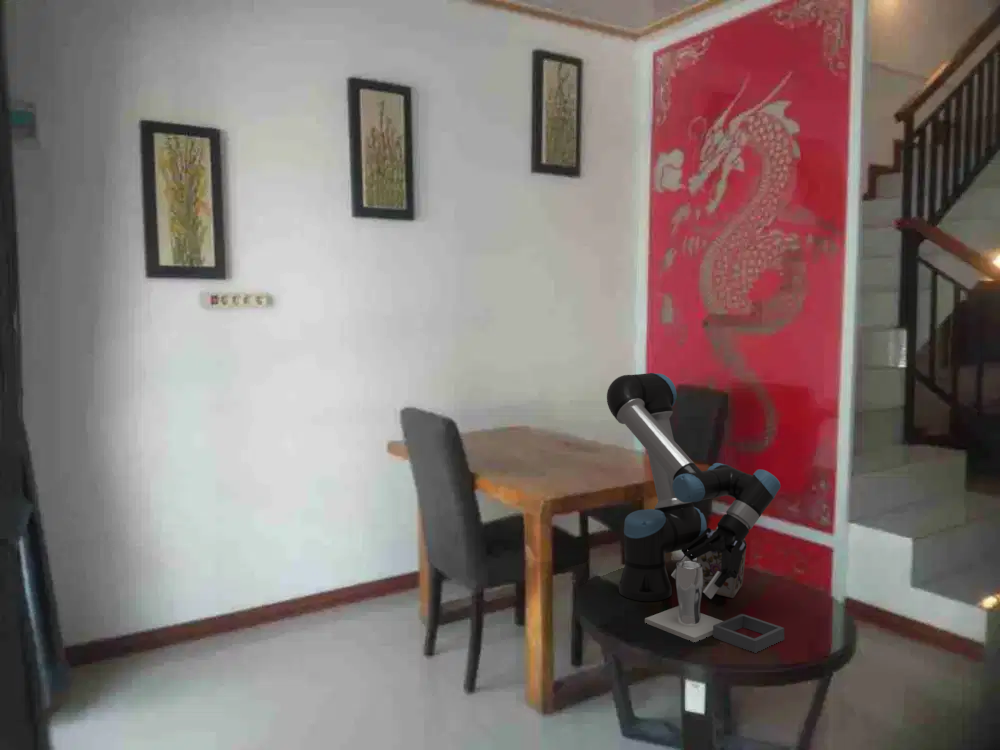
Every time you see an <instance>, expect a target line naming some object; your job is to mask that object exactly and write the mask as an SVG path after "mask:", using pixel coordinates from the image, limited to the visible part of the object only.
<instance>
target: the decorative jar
mask: <svg viewBox="0 0 1000 750" xmlns="http://www.w3.org/2000/svg"><path fill="white" fill-rule="evenodd" d="M710 529H711V530H712V531H713V532H715V531H716V530H717V529H718V526H716V528H715V529H712V528H710ZM703 533H704V532H703ZM742 542H743V543H744V544H745V545H746V546H747V545H748V543H747V541H746V538H745V539H744V540H743V541H742ZM732 552H733V549H732ZM746 552H747V548H746V549H745V551H744V552H743V555H742V559H741V563H740V567H739V571H738V575H737V577H736V578H735V579H734V578H733V577H730V578H728V579H727V580H726V581H725V583H724V584H723V585H722V587H721V588H719V589H718V590H717V592H716V593H715V594H714V595H718V596H723V597H725V598H726V597H727V598H729V599H730V598H731V599H734V598H735V597H736V595H737V594H738V592H739V591H740V589H741V588H742V586H743V582H744V574H745V563H746V554H747V553H746ZM721 557H722V553H721V552H719V551H716V550H714V551H709V552H707V553H705V554H703V555H701V556H699V557H697V558H696V562H698V563H701V564H702V570H703V591H704V589H705V588H706V587H707V585H708V584H709V583H710V581H711V580H712V578H713V577H714V576H715V574H716V573H717V571H719V572H720V573H722V572H721V571H720V569H721Z"/></svg>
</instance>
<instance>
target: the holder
mask: <svg viewBox="0 0 1000 750" xmlns="http://www.w3.org/2000/svg"><path fill="white" fill-rule="evenodd" d="M722 621H723V622H721V623H718V624H716V625H713V635H712V638H713V637H714V639H717V640H719V641H722V642H724V643H727V644H730V645H732V646H734V647H736V648H739V649H742V648H743V649H742V650H745V649H746V650H745V651H748V650H749V651H748V652H750V651H752V652H751V653H753V652H754V653H753V654H755V653H756V654H757V652H758V651H760V652H762V651H764V650H766V649H768V648H770V647H772V646H771V645H773V646H775V645H777V644H779V643H781V642H783V641H785V627H782V626H780V625H777V624H774V623H771V622H767V621H765V620H762V619H759V618H756V617H754V616H750V615H747V614H745V613H739V614H738V615H736V616H733V617H731V618H728V619H726V620H722ZM742 628H744V629H748V630H750V631H752V632H756V633H759V634H761V635H759V636H757V637H755V638H753V637H750V636H748V635H745V634H743V633H740V632H737V630H740V629H742ZM780 641H781V642H780ZM778 642H779V643H778ZM776 643H777V644H776ZM774 644H775V645H774ZM769 646H770V647H769ZM767 647H768V648H767ZM765 648H766V649H765ZM763 649H764V650H763ZM761 650H762V651H761ZM758 653H759V652H758Z"/></svg>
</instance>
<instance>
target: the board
mask: <svg viewBox="0 0 1000 750" xmlns="http://www.w3.org/2000/svg"><path fill="white" fill-rule="evenodd" d="M678 613H679V605H677V606H675V607H672V608H669V609H667V610H664V611H661V612H659V613H656V614H654V615H653V614H652V615H650V616H648V617H647V616H646V617H645V618H644V624H646V623H647V624H646V625H648V626H649V625H650V626H652V627H654V628H656V629H659V630H661V631H665V632H666V633H669V634H672V635H674V636H676V637H679V638H682V639H684V640H686V641H689V640H690V642H692V643H694V642H695V643H697V642H700V641H702V640H704V639H707V638H709V637H711V636H713V625H716V624H718V623H721V622H723V621H724V620H721V619H718V618H715V617H713V616H710V615H707V614H704V613H701V612H700V614H701V620H702V623H701V624H700V625H698V626H685V625H682V624H680V623H679V622H678V621H677V619H678ZM706 637H707V638H706ZM699 640H700V641H699Z"/></svg>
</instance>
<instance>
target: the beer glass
mask: <svg viewBox="0 0 1000 750" xmlns="http://www.w3.org/2000/svg"><path fill="white" fill-rule="evenodd" d="M675 569H676V575H675V579H674V580H675V589H676V596H677V602H678V606H679V613H678V619H677V621H678V622H679V623H680V624H682V625H685V626H698V625H700V624H701V623H702V620H701V614H700V613H701V603H702V602H701V601H702V598H703V570H702V564H701V563H698V562H697V561H694V560H693V561H681V560H680V561H678V562H676V563H675Z"/></svg>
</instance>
